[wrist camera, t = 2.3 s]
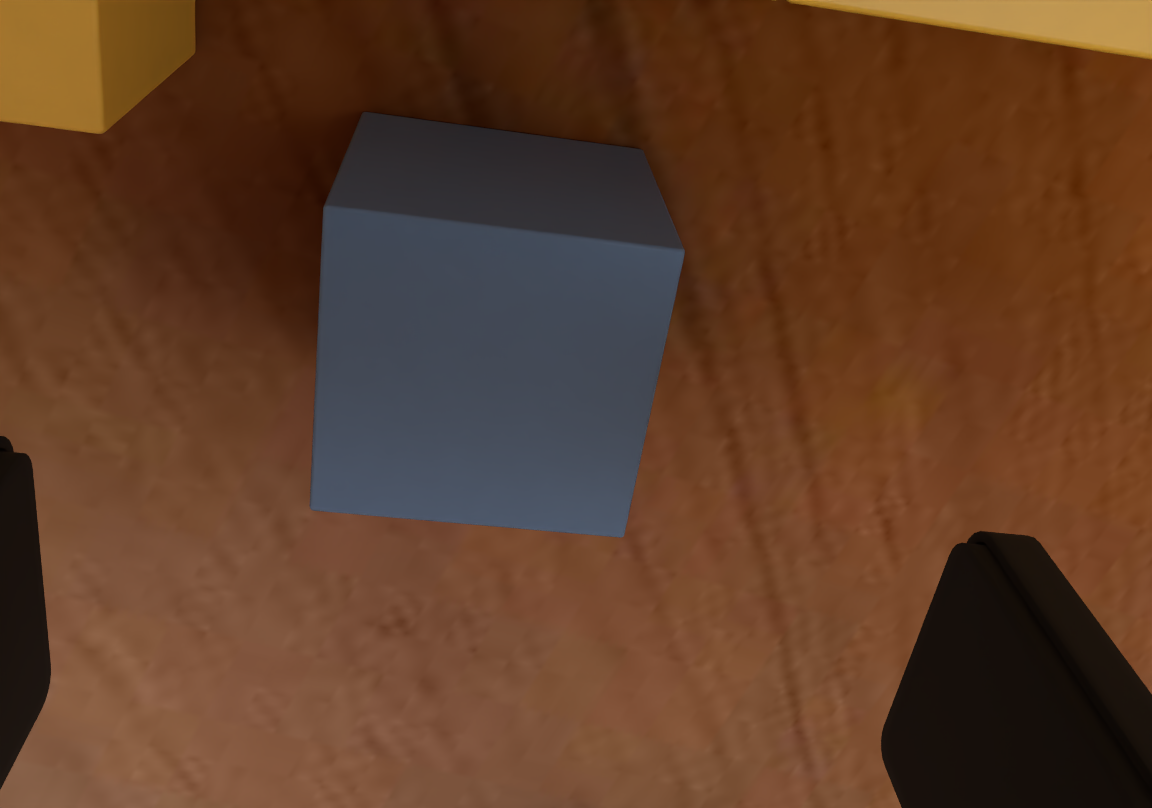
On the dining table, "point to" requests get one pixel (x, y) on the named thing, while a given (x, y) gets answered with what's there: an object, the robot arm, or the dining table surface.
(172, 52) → the mustard block
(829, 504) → the dining table surface
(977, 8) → the mustard bin
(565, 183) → the blue block
